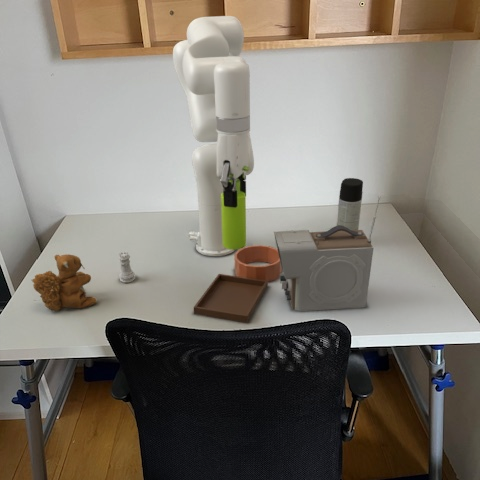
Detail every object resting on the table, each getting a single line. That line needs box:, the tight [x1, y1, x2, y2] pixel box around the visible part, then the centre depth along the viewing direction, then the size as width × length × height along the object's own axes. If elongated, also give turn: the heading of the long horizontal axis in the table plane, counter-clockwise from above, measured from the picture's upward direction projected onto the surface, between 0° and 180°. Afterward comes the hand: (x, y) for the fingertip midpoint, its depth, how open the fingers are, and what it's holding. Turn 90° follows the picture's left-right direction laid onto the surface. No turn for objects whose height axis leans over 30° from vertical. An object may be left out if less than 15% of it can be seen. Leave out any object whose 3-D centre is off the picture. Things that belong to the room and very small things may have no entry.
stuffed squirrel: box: [31, 254, 98, 312], centre depth 137 cm, size 10×14×13 cm
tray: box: [193, 273, 269, 324], centre depth 140 cm, size 14×18×2 cm
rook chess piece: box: [117, 251, 136, 284], centre depth 149 cm, size 4×4×8 cm
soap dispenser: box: [221, 166, 250, 251], centre depth 130 cm, size 6×7×20 cm
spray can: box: [336, 177, 364, 230], centre depth 162 cm, size 7×7×20 cm
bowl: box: [233, 244, 283, 283], centre depth 152 cm, size 13×13×5 cm
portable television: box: [273, 195, 381, 312], centre depth 131 cm, size 12×24×30 cm, turn 94°
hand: (235, 200), depth 129 cm, fingers closed on soap dispenser, 5 cm apart
